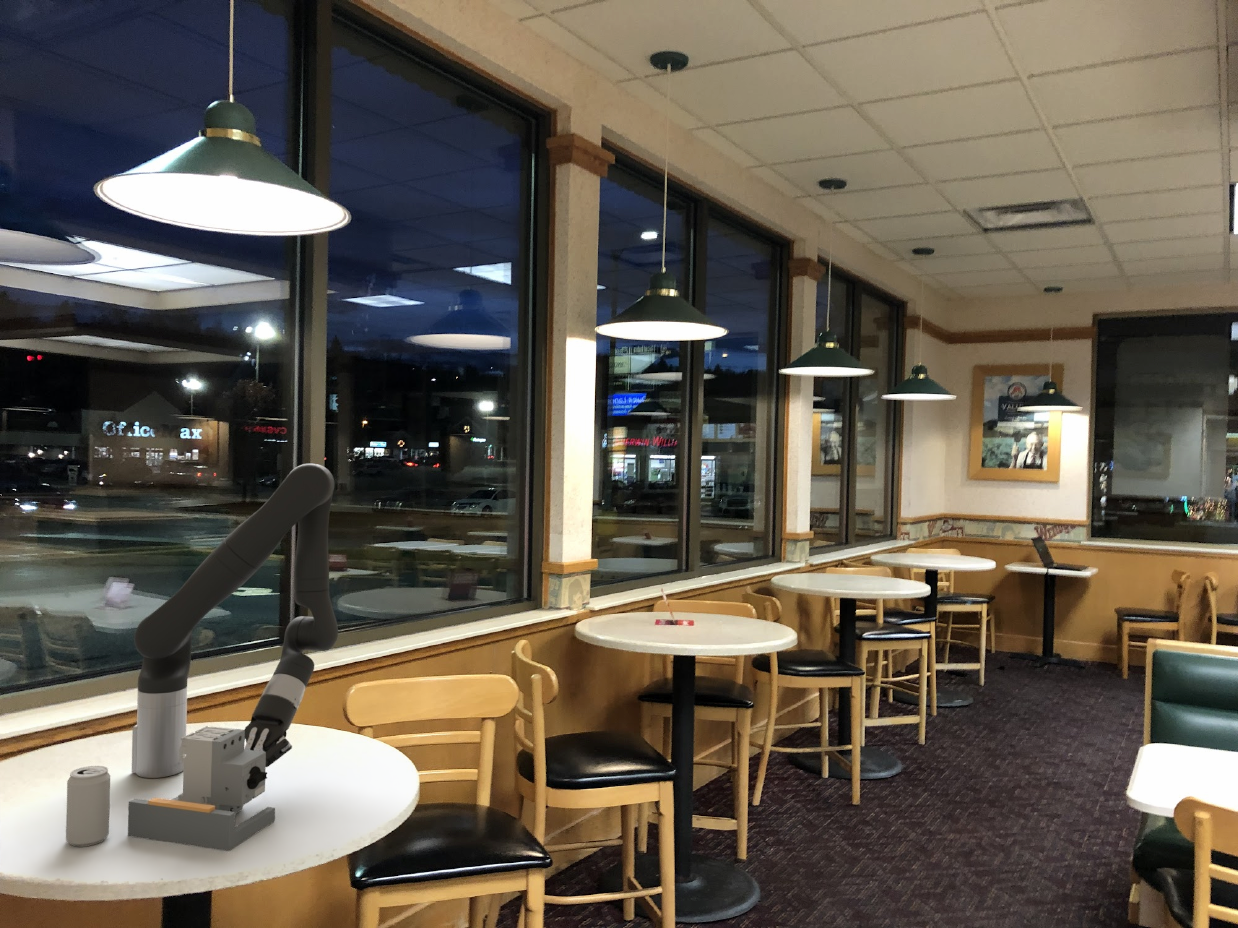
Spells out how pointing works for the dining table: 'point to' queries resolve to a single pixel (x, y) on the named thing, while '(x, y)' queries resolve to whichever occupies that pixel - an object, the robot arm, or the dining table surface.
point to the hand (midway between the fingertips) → (240, 784)
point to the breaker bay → (192, 823)
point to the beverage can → (88, 806)
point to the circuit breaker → (221, 769)
